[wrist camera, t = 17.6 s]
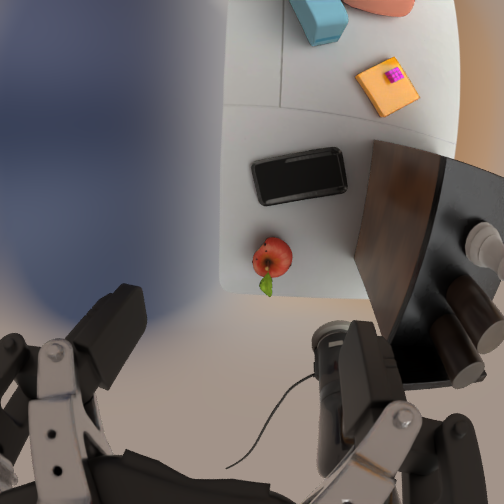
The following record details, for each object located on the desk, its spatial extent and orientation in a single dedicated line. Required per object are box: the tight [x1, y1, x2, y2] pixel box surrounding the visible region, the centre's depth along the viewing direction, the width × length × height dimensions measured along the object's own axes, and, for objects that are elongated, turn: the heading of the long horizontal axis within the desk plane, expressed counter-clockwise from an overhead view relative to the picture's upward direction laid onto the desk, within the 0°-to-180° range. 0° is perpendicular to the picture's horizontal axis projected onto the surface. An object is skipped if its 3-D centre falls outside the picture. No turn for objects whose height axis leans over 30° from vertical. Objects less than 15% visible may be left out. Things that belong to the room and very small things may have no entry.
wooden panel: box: [354, 140, 441, 340], centre depth 34 cm, size 22×13×23 cm, turn 177°
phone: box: [251, 147, 348, 206], centre depth 44 cm, size 8×1×15 cm
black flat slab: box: [387, 156, 504, 391], centre depth 21 cm, size 22×13×7 cm, turn 177°
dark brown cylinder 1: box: [446, 275, 504, 354], centre depth 20 cm, size 4×4×8 cm
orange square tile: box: [355, 57, 420, 117], centre depth 34 cm, size 8×8×4 cm
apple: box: [252, 237, 292, 297], centre depth 47 cm, size 8×7×10 cm
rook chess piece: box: [465, 222, 504, 281], centre depth 17 cm, size 4×4×8 cm
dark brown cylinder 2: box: [430, 314, 485, 389], centre depth 22 cm, size 4×4×8 cm
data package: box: [289, 0, 348, 46], centre depth 27 cm, size 12×4×12 cm, turn 19°
